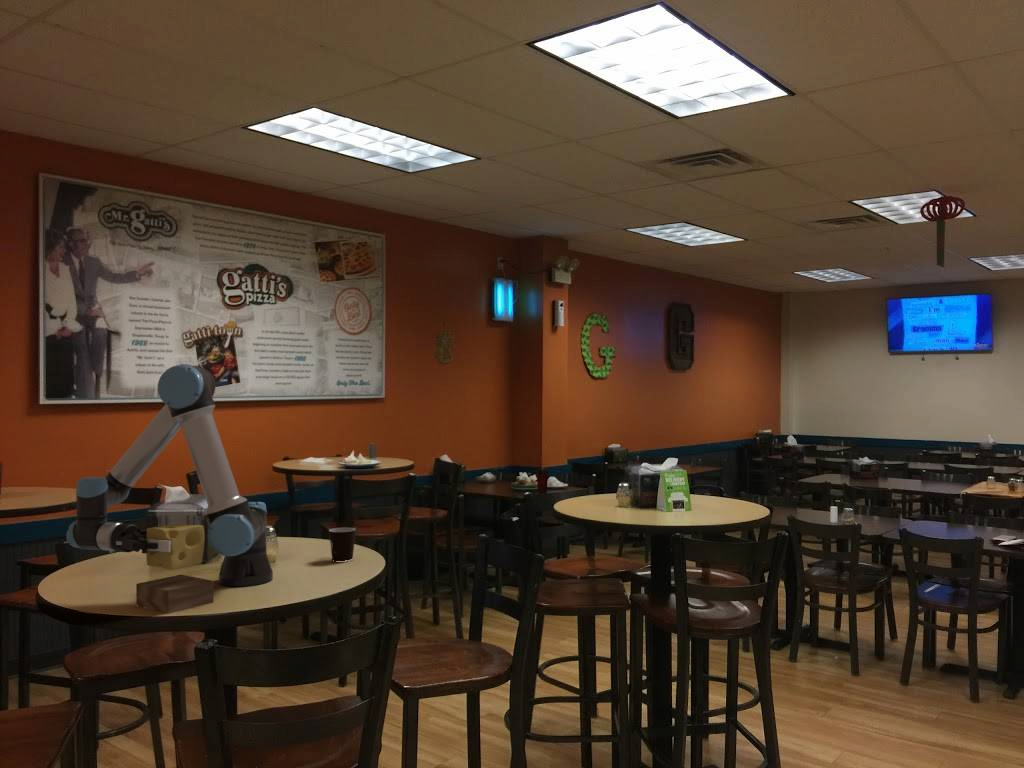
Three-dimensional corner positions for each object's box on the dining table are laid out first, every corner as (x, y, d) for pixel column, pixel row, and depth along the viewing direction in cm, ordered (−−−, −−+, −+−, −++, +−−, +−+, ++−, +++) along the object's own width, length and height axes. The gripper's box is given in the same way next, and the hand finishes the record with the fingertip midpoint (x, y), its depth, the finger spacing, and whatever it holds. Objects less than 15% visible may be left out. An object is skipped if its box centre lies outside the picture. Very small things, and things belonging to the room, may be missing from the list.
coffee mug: (353, 563, 268) (352, 532, 268) (326, 563, 268) (326, 532, 268) (360, 556, 280) (359, 526, 280) (334, 556, 280) (334, 526, 280)
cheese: (170, 570, 211) (171, 530, 211) (143, 565, 217) (144, 527, 217) (205, 563, 220) (205, 525, 220) (178, 558, 225) (178, 521, 226)
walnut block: (213, 603, 219) (213, 580, 219) (168, 614, 209) (168, 590, 209) (181, 596, 227) (181, 574, 227) (136, 607, 217) (136, 583, 217)
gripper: (152, 543, 235) (216, 548, 228) (83, 559, 213) (152, 565, 206) (152, 517, 235) (216, 521, 228) (84, 530, 213) (153, 535, 206)
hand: (186, 542), depth 217 cm, fingers closed on cheese, 11 cm apart
